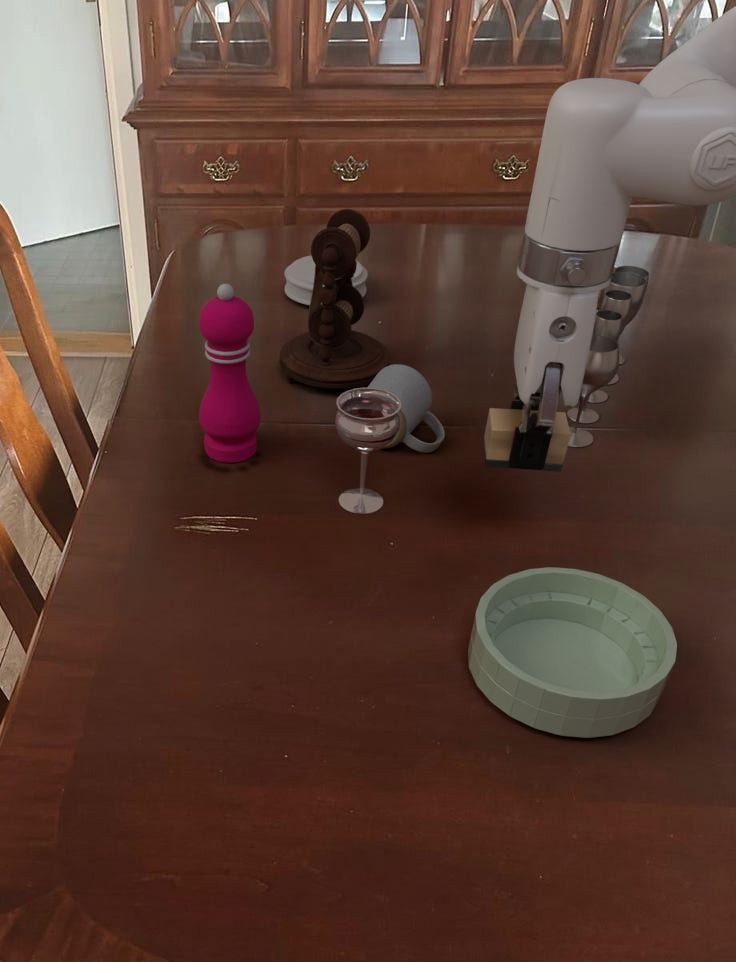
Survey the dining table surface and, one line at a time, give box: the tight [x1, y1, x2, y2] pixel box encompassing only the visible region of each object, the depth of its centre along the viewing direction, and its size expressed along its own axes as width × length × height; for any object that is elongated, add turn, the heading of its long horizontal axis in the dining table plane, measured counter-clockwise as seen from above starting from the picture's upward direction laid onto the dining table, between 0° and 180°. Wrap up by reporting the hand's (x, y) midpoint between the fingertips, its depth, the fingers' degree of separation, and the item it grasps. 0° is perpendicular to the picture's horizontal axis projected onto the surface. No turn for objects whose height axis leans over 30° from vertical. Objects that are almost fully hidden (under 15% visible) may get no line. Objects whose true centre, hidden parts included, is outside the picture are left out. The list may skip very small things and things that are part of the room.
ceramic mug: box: [366, 363, 446, 454], centre depth 110 cm, size 11×8×8 cm
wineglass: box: [334, 387, 401, 515], centre depth 99 cm, size 7×7×12 cm
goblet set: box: [566, 265, 650, 448], centre depth 115 cm, size 28×6×13 cm, turn 154°
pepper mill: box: [198, 283, 262, 464], centre depth 104 cm, size 7×7×20 cm
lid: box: [284, 254, 368, 306], centre depth 142 cm, size 13×13×5 cm
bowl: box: [467, 566, 678, 739], centre depth 81 cm, size 17×17×6 cm
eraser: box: [482, 407, 571, 472], centre depth 86 cm, size 7×4×4 cm, turn 83°
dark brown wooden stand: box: [279, 208, 391, 389], centre depth 118 cm, size 15×15×20 cm
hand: (523, 451), depth 87 cm, fingers closed on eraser, 4 cm apart
